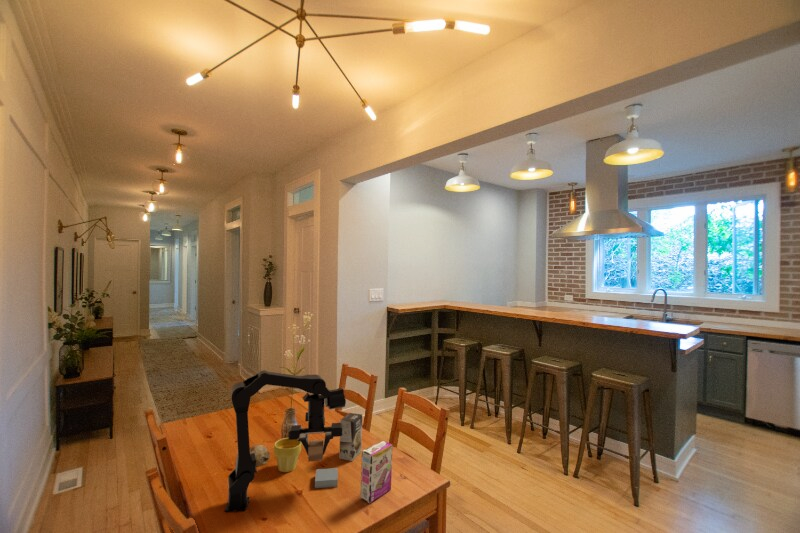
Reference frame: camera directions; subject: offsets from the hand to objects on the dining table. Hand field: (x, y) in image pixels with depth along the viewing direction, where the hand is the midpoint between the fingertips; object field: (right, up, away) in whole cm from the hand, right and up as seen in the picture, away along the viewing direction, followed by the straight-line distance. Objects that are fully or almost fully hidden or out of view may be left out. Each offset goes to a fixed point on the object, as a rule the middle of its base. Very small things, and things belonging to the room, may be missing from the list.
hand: (316, 454), depth 134 cm
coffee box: (+9, -12, +23) cm, 28 cm away
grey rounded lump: (-29, -12, +17) cm, 35 cm away
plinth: (+3, -12, +4) cm, 13 cm away
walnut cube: (0, -1, 0) cm, 1 cm away
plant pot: (-14, -12, +12) cm, 22 cm away
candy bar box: (+22, -12, -4) cm, 25 cm away
